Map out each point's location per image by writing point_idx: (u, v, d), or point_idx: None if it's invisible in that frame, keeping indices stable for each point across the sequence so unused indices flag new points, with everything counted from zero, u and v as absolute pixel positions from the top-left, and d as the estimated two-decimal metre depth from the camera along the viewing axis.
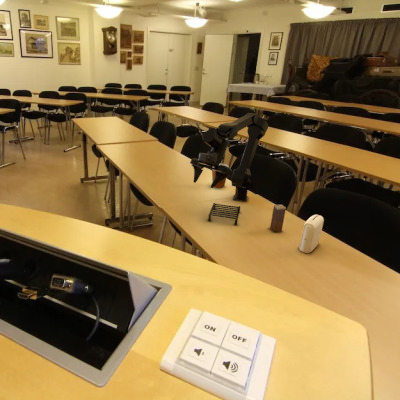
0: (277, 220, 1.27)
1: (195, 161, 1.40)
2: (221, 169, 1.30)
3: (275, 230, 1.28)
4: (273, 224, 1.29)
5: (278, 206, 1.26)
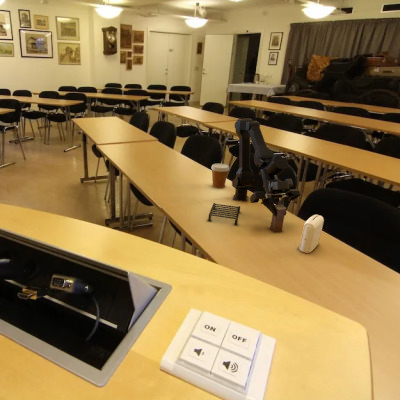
0: (277, 220, 1.27)
1: (263, 193, 1.26)
2: (296, 193, 1.27)
3: (275, 230, 1.28)
4: (273, 224, 1.29)
5: (278, 206, 1.26)
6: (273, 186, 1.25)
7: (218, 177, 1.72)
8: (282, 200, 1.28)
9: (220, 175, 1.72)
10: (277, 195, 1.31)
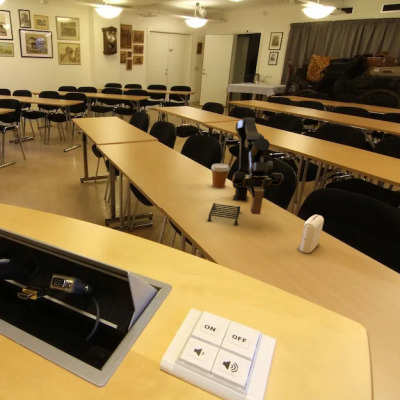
0: (255, 202, 1.27)
1: (242, 174, 1.28)
2: (278, 176, 1.26)
3: (253, 212, 1.29)
4: (252, 206, 1.29)
5: (257, 188, 1.26)
6: (253, 167, 1.26)
7: (218, 177, 1.72)
8: (263, 183, 1.28)
9: (220, 175, 1.72)
10: None
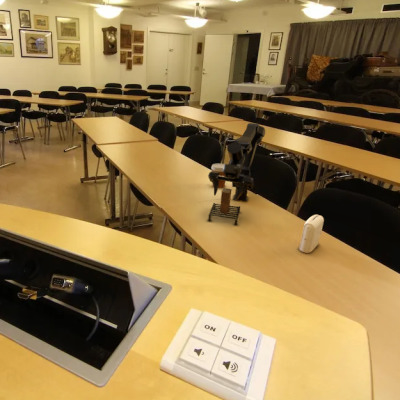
0: (222, 202, 1.37)
1: (215, 174, 1.39)
2: (247, 180, 1.32)
3: (221, 211, 1.39)
4: None
5: (225, 189, 1.36)
6: None
7: None
8: None
9: (220, 175, 1.72)
10: None
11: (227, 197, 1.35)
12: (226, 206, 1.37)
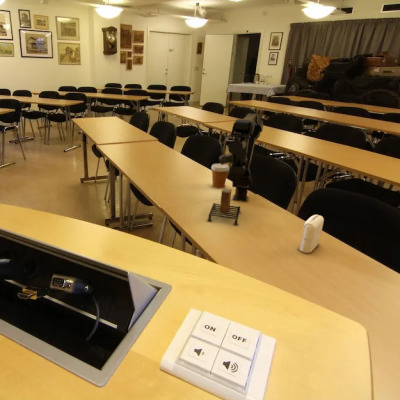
0: (222, 202, 1.37)
1: None
2: None
3: (221, 211, 1.39)
4: None
5: (225, 189, 1.36)
6: None
7: (218, 177, 1.72)
8: None
9: (220, 175, 1.72)
10: (241, 164, 1.40)
11: (227, 197, 1.35)
12: (226, 206, 1.37)
